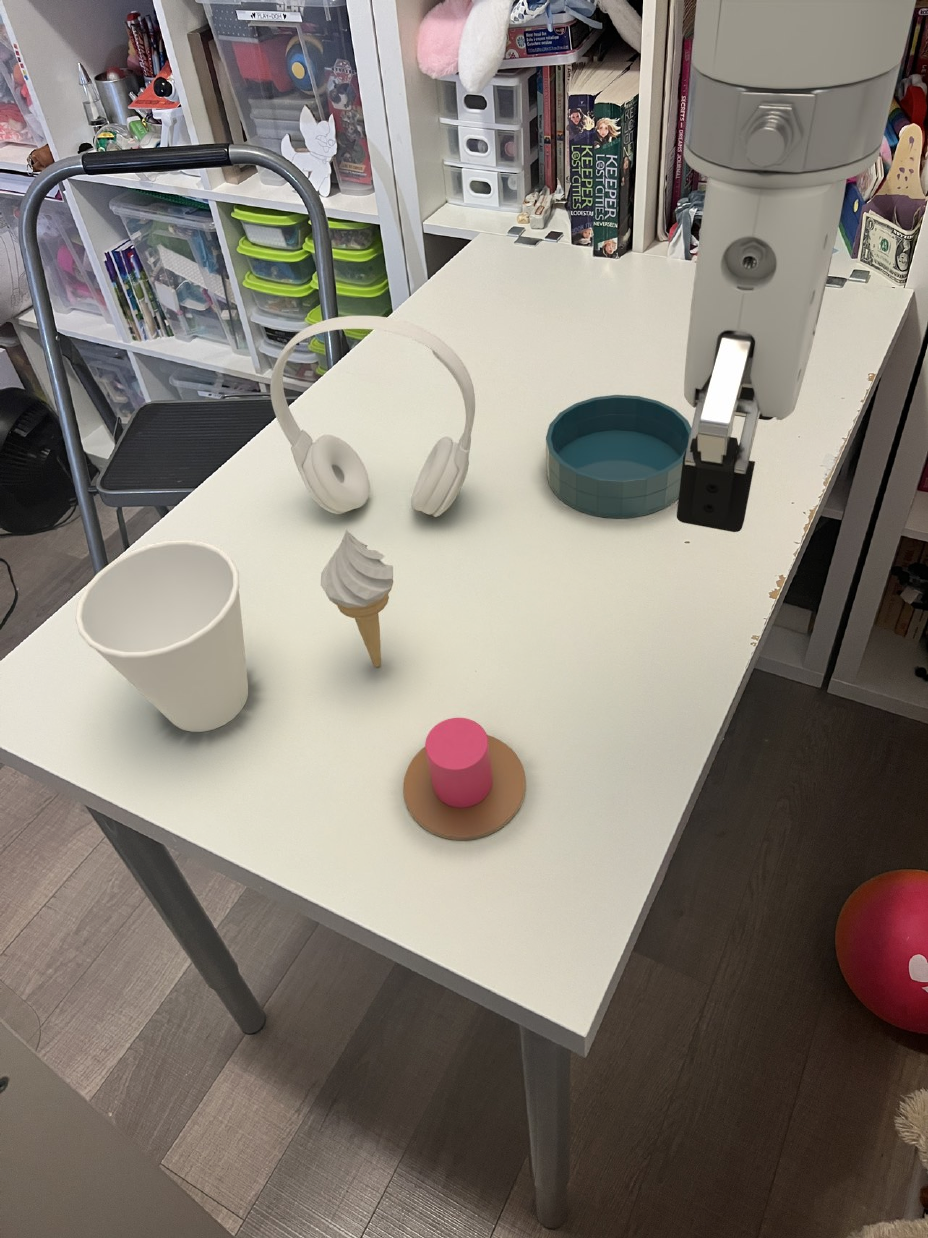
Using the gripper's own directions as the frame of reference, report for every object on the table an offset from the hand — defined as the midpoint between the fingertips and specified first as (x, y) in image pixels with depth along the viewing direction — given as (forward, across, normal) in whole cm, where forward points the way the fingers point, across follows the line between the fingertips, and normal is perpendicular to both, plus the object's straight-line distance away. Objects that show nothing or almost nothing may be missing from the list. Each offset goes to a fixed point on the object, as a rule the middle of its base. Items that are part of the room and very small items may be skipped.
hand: (728, 465), depth 47 cm
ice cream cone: (+26, 0, +26) cm, 37 cm away
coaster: (+26, -8, +14) cm, 31 cm away
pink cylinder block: (+26, -8, +14) cm, 30 cm away
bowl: (+26, +30, +14) cm, 42 cm away
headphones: (+26, +19, +33) cm, 47 cm away
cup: (+26, -8, +38) cm, 46 cm away
